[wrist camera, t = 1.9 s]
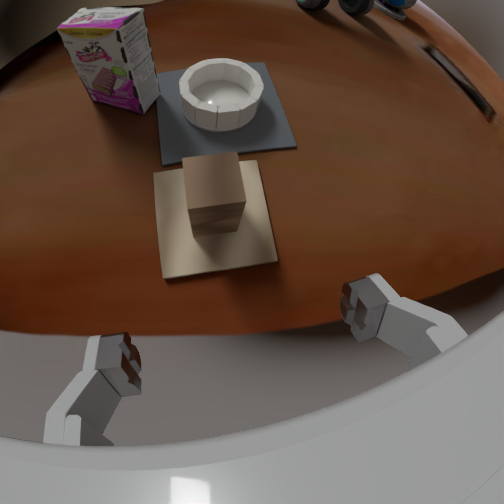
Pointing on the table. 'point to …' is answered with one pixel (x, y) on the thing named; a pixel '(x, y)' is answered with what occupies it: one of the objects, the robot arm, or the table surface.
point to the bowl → (220, 94)
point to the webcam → (394, 7)
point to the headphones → (352, 3)
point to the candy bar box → (112, 56)
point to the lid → (212, 216)
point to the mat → (205, 142)
